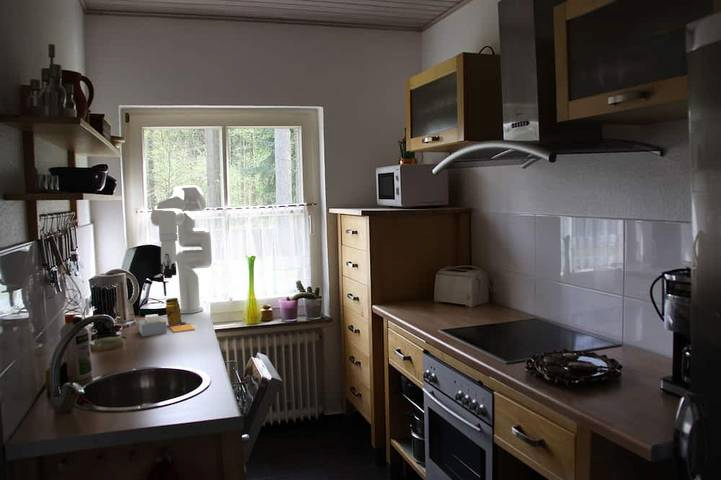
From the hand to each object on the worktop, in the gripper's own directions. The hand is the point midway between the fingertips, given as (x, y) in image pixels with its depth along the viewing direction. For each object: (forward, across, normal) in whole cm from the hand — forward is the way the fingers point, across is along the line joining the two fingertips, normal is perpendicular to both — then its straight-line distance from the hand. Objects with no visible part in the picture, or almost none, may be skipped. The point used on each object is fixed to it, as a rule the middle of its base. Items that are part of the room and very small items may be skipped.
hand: (170, 276), depth 263 cm
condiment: (+24, -13, -1) cm, 27 cm away
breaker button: (+21, 0, -9) cm, 23 cm away
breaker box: (+24, 0, -9) cm, 26 cm away
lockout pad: (+24, -4, +3) cm, 25 cm away
